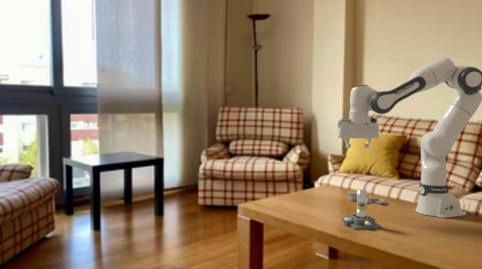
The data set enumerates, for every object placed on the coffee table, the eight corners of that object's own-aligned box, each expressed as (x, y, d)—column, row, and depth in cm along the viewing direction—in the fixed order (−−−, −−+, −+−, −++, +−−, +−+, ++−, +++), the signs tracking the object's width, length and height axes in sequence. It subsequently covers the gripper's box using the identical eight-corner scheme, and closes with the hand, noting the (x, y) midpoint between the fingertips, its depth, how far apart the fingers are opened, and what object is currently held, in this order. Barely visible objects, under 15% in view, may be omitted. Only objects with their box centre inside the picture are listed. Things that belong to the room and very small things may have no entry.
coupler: (363, 220, 183) (364, 189, 182) (367, 223, 179) (368, 191, 178) (354, 220, 183) (355, 189, 181) (358, 223, 179) (359, 191, 177)
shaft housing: (366, 219, 188) (367, 211, 188) (382, 229, 175) (382, 221, 174) (338, 220, 186) (339, 212, 186) (352, 230, 172) (352, 222, 172)
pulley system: (368, 209, 209) (390, 204, 215) (367, 200, 208) (390, 195, 215) (333, 199, 233) (354, 195, 240) (333, 190, 233) (354, 187, 239)
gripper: (340, 119, 193) (339, 148, 194) (381, 119, 197) (380, 148, 198) (335, 118, 199) (334, 147, 201) (374, 118, 203) (373, 146, 204)
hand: (357, 147), depth 199 cm, fingers open, 8 cm apart
